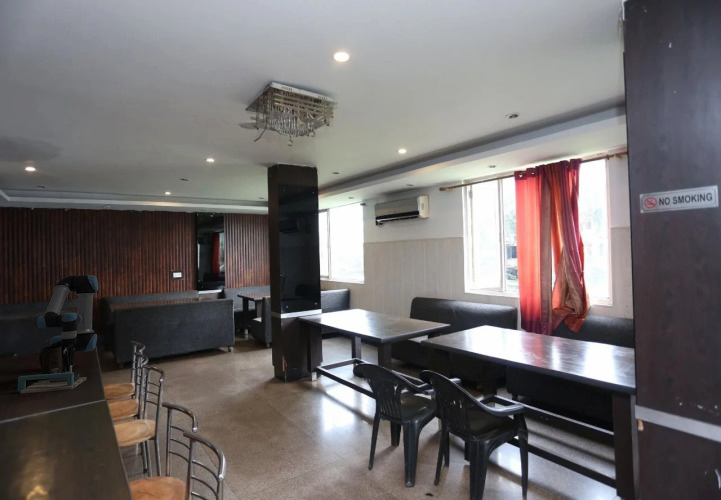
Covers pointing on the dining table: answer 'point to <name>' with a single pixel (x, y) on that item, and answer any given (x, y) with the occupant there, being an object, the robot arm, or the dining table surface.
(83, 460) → the dining table surface
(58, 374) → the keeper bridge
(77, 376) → the swing link
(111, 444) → the dining table surface
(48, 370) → the beer stein
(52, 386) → the pivot plate
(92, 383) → the dining table surface
